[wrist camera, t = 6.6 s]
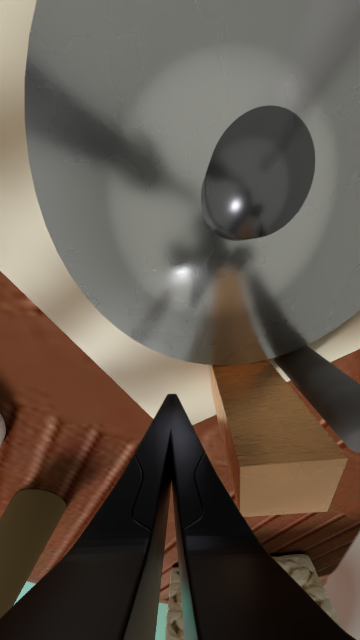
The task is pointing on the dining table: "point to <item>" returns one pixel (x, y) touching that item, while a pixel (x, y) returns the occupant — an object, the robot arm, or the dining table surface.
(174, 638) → the storage basket
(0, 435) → the coaster
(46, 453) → the dining table surface
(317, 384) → the birch base board
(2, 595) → the cork
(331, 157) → the flange plate
